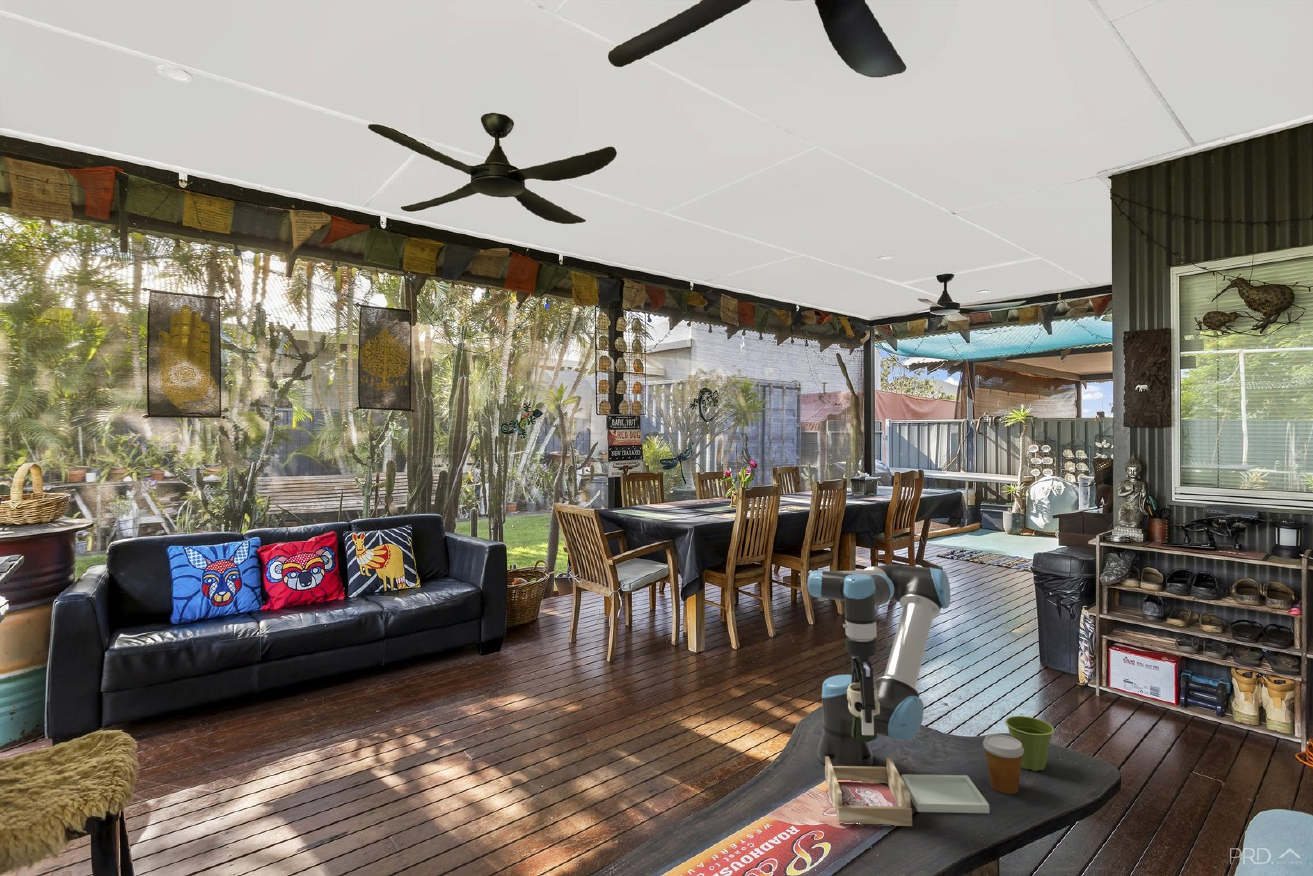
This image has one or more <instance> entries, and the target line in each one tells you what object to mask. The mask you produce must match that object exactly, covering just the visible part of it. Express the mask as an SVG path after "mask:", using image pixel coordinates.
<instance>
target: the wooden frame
mask: <svg viewBox="0 0 1313 876" xmlns="http://www.w3.org/2000/svg"><path fill="white" fill-rule="evenodd" d="M885 761H886V766H871V767H870V766H832V764H831V761H830V758H829V757H825V765H824V775H825V776H824V778H825V779H826V781H825V783H827V784H826V786H827V785H828V787H827V789H828V788H829V791H828V792H830V794H829V796H830V795H831V797H830V799H831V798H832V800H831V802H832V801H833V803H832V805H833V804H834V806H833V808H834V807H835V810H836V813H835V815H836V814H837V816H836V818H837V817H838V819H837V821H838V820H839V822H843V823H855V824H856V823H858V824H859V823H860V824H862V823H863V824H891V825H894V827H895V826H897V827H899V826H900V827H901V826H902V827H905V826H906V827H913V812H912V811H913V809H912V806H911V799H910V793H909V791H908V789H907V787H906V786H905V784H904V782H903V780H902V778H901V775H900V773H899V771H898V769H897V767H896V766H895V764H894V762H893V760H892V758H891V757H889V756H888V757H887V756H886V760H885ZM825 779H824V780H825ZM838 780H851V781H862V782H874V783H873V784H879V783H886V785H887V786H888V788H889V790H890V792H891V794H892V796H893V798H895V799H894V801H895V802H896V805H897V806H894V805H893V806H892V805H888V806H886V805H885V806H884V805H847V804H846V805H843V800H842V799H843V793H842V790H841V786H840V783H838ZM835 810H834V811H835ZM839 822H838V823H839ZM891 825H890V826H891Z"/></svg>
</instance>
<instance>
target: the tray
mask: <svg viewBox="0 0 1313 876" xmlns="http://www.w3.org/2000/svg"><path fill="white" fill-rule="evenodd" d="M900 776H901V778H902V780H903V782H904V784H905V786H906V787H907V789H908V791H909V793H910V801H911V802H912V803H913V806H914V808H915V809H916V812H917V813H952V814H953V813H957V814H959V813H960V814H961V813H963V814H990V804H989V803H988V801H987V800H986V799H985V796H983V795H982V793H981V791H979V789H978V788H977V787H976V785H975V783H974V782H973V780H971V778H970V776H969V775H963V774H959V775H957V774H954V775H953V774H907V773H906V774H905V773H904V774H903V773H902V774H901V775H900Z"/></svg>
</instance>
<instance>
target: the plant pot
mask: <svg viewBox="0 0 1313 876" xmlns="http://www.w3.org/2000/svg"><path fill="white" fill-rule="evenodd" d="M1004 722H1005V724H1006V726H1007V728H1008V732H1009V735H1010V737H1013V738H1015V739H1017V740H1019V741H1020V742H1021V744H1022V747H1023V748H1024V753H1023V755H1022V760H1021V769H1023V770H1024V769H1025V770H1032V771H1033V772H1038V771H1037V770H1041V769H1044V768H1045V769H1046V764H1047V760H1048V759H1047V758H1048V752H1049V748H1050V741H1051V740H1052V737H1053V736H1052V735H1053V734H1054V733H1055V728H1054V726H1053V725H1052V724H1050V723H1049V722H1046V721H1044V720H1042V719H1039V718H1036V717H1031V716H1025V715H1013V716H1008V717H1007V718H1005V721H1004ZM1045 769H1044V770H1045Z"/></svg>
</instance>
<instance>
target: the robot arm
mask: <svg viewBox="0 0 1313 876" xmlns="http://www.w3.org/2000/svg"><path fill="white" fill-rule="evenodd" d="M950 585H951V584H950V581H949V577H948V574H947V572H945V570H943V569H940V568H933V567H922V566H914V565H903V564H886V565H885V564H883V565H876V566H869V567H866V568H864V569H861V570H857V569H856V570H835V571H831V570H830V571H829V570H828V571H827V570H823V569H822V570H820V569H819V570H817V569H814V570H812V571H810V573H809V574H808V578H807V591H808V593H809V595H810V596H812V597H813V598H814V597H815V598H819V599H825V600H827V599H828V600H834V601H842V602H843V601H844V621H845V623H843V624H842V627H843V628H845V635H846V637H845V651H846V653H848V654H849V655H851V674H838V675H832V676H830V677H828V678H826V679H825V680H824V681H823V683H822V685H821V686H822V687H821V688H822V689H821V703H822V723H823V724H822V727H823V731H822V733H821V735H820V736H821V737H820V739H819V743H818V747H817V758H818V757H819V759H820V760H821V761H822V762H823V763H824V764H825V757H829V758H830V761H831V764H832V766H870V767H872V766H873V763H874V762H873V760H874V759H873V752H872V749H871V747H870V743H869V742H861V741H857V740H856V735H855V734H854V738H852V736H851V730H852V720H853V716H854V715H853V714H851V712H850V711H849V708H848V702H849V701H848V699H847V689H848V686H849V685H850V684H852V683H860V690H861V698H862V707H859V708H860V710H861V716H862V735H874V720H875V725H876V732H877V735H880V736H881V735H882V736H885V737H889V738H891V739H892V740H902V741H910V740H912V739H914V738H915V737H916V736H917V734H918V733H919V731H920V729H921V726H922V723H923V719H924V716H923V715H924V711H925V710H924V709H925V708H924V703H923V701H922V699H921V698H920V693H919V691H918V689H917V688H916V686H917V683H918V679H919V675H920V671H921V666H922V663H923V659H924V654H925V651H926V646H927V643H928V638H929V634H930V631H931V626H932V623H933V619H934V618H935V619H936V618H937V617H938V616H940V613H941V611H942V610H941V609H943V610H945V609H948V608H949V607H950V604H951V586H950ZM889 601H891V602H896V603H899V605H900V607H901V608H902V610H901V611H902V612H901V614H900V618H899V622H898V625H897V628H896V632H895V636H894V640H893V642H892V647H891V650H890V653H889V657H888V660H887V664H886V668H885V672H884V675H883V676H880V677H878V678H877V679H876V682H875V685H874V669H873V667H872V662H871V661H870V659H869V658H870V657H872V656H875V655H877V652H878V649H877V647H878V646H877V644H878V643H877V639H876V638H877V634H878V633H877V615H876V614H877V611H876V609H877V608H878V607H880V606H881V605H884V604H886V603H887V602H889ZM874 686H875V687H876V688H877V696H878V702H879V704H880V713H879V714H876V715H875V716H873V710H875V708H876V707H875V698H874ZM873 717H874V720H873ZM819 759H818V760H819ZM824 764H823V765H824Z"/></svg>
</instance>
